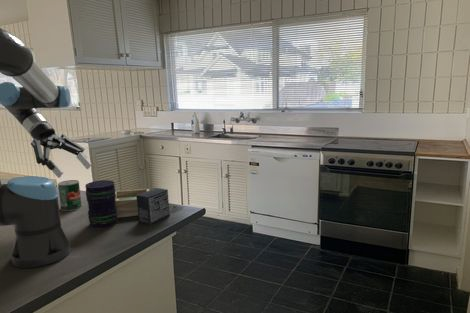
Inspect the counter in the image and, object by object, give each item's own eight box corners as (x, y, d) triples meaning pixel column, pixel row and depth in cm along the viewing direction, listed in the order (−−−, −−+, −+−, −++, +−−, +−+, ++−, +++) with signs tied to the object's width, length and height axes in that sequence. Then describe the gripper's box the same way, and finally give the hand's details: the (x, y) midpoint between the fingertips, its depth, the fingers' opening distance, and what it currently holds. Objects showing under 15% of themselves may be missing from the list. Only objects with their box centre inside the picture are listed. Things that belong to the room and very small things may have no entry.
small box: (157, 212, 136) (156, 187, 134) (170, 215, 132) (168, 189, 130) (137, 221, 127) (135, 194, 125) (150, 225, 124) (148, 196, 122)
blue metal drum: (110, 216, 133) (107, 178, 130) (123, 223, 126) (119, 183, 123) (84, 223, 126) (80, 184, 123) (96, 231, 119) (91, 189, 116)
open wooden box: (149, 214, 134) (148, 198, 133) (111, 218, 131) (110, 201, 130) (150, 203, 147) (149, 188, 146) (116, 206, 145) (114, 191, 143)
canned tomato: (66, 205, 148) (63, 180, 146) (84, 204, 148) (82, 179, 146) (57, 211, 140) (54, 185, 138) (77, 210, 140) (74, 184, 138)
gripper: (61, 131, 141) (95, 169, 139) (3, 140, 118) (42, 186, 116) (70, 119, 138) (104, 157, 136) (12, 125, 115) (52, 171, 113)
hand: (76, 170), depth 126 cm, fingers open, 13 cm apart
